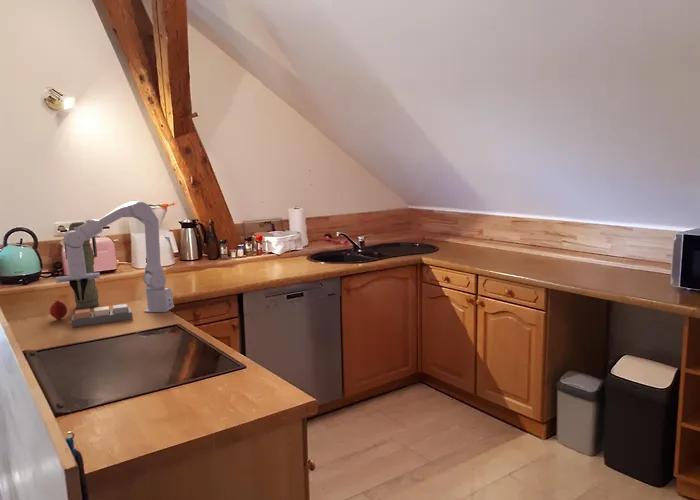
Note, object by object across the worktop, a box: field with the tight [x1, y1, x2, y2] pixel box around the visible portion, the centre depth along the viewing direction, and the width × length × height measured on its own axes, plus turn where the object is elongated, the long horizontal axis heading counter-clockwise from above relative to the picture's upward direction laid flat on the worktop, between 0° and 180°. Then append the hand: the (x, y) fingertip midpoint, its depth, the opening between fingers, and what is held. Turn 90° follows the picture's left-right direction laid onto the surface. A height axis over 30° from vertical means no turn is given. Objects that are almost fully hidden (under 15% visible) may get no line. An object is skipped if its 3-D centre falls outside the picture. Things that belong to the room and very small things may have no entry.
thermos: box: [63, 221, 99, 310], centre depth 237 cm, size 9×12×35 cm
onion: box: [49, 299, 68, 321], centre depth 220 cm, size 6×6×8 cm
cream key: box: [93, 305, 110, 316], centre depth 216 cm, size 5×5×3 cm
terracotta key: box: [74, 308, 92, 319], centre depth 213 cm, size 5×5×3 cm
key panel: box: [70, 307, 133, 329], centre depth 216 cm, size 21×8×3 cm, turn 113°
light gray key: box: [112, 303, 129, 314], centre depth 218 cm, size 5×5×3 cm
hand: (80, 299), depth 212 cm, fingers closed
